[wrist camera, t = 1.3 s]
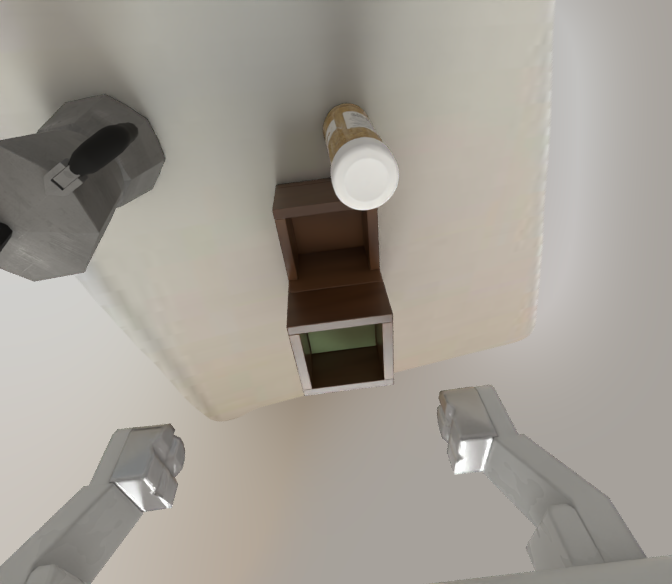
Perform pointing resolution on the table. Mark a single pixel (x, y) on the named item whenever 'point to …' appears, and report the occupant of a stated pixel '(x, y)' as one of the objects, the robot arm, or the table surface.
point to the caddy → (333, 290)
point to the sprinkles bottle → (358, 159)
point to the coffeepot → (71, 184)
